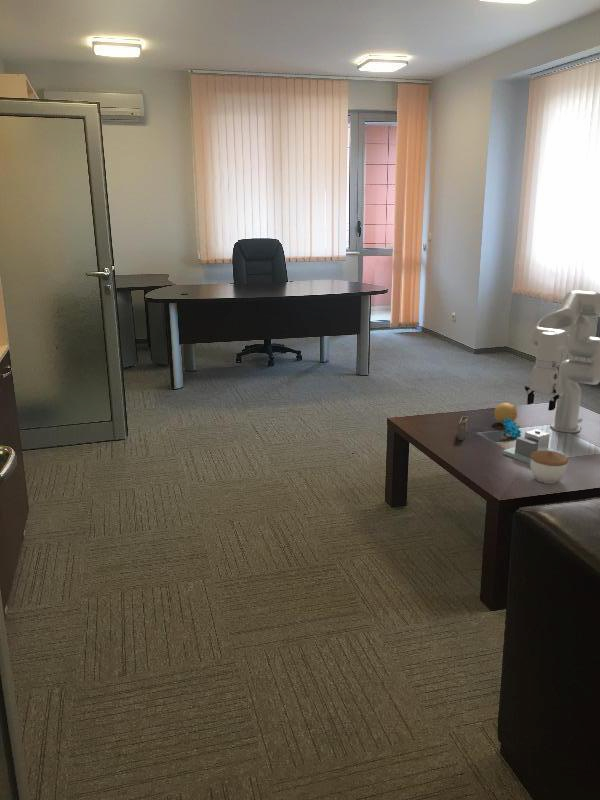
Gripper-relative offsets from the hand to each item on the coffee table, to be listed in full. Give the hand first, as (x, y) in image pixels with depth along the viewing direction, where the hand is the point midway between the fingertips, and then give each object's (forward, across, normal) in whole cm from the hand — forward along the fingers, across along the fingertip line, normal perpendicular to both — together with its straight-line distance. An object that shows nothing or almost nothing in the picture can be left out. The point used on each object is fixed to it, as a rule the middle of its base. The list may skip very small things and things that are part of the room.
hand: (540, 406), depth 253 cm
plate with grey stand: (+20, 0, +1) cm, 20 cm away
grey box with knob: (+19, 0, 0) cm, 19 cm away
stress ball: (+20, +33, -22) cm, 45 cm away
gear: (+21, +20, -11) cm, 31 cm away
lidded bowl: (+20, -18, +18) cm, 33 cm away
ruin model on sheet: (+21, +32, +7) cm, 39 cm away
